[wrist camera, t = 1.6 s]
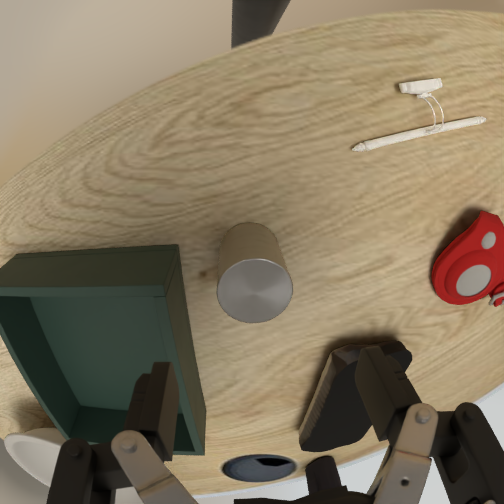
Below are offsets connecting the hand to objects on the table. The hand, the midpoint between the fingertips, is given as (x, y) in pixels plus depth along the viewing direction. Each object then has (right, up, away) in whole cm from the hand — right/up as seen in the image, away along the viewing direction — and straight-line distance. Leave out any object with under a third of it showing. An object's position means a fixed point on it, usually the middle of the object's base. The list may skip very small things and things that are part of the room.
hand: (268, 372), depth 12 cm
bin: (-14, -4, +14) cm, 20 cm away
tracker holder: (+21, +4, +14) cm, 25 cm away
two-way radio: (+9, -26, +26) cm, 38 cm away
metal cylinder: (-1, +5, +11) cm, 12 cm away
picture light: (+12, +16, +7) cm, 22 cm away
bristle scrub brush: (+9, -10, +19) cm, 23 cm away
